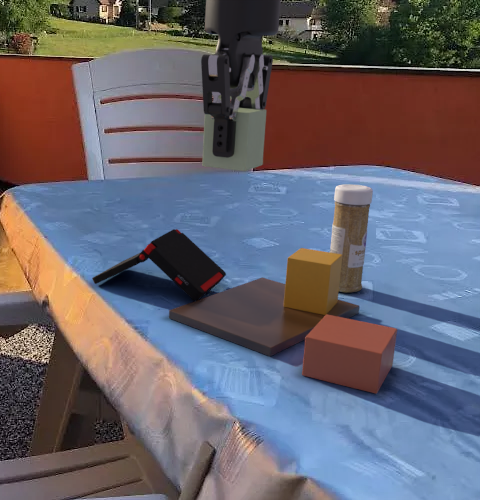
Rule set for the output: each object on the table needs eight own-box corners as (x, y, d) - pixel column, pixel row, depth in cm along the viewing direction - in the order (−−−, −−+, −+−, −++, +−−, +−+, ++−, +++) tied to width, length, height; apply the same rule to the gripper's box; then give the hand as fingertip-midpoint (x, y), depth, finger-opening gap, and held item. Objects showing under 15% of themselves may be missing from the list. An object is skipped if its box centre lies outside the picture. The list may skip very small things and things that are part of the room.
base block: (322, 349, 73) (326, 313, 72) (392, 365, 70) (397, 328, 69) (301, 375, 68) (305, 336, 67) (376, 394, 64) (381, 353, 63)
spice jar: (363, 295, 90) (375, 191, 86) (326, 292, 91) (336, 189, 87) (359, 283, 94) (371, 184, 91) (324, 280, 95) (334, 182, 91)
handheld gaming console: (228, 273, 92) (184, 322, 97) (161, 211, 95) (121, 262, 99) (201, 294, 84) (155, 347, 89) (129, 226, 86) (87, 281, 91)
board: (261, 284, 93) (262, 277, 93) (358, 313, 84) (359, 305, 84) (168, 318, 81) (168, 310, 81) (270, 356, 72) (270, 347, 71)
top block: (296, 294, 87) (301, 247, 85) (337, 302, 84) (342, 254, 83) (283, 306, 83) (287, 257, 81) (325, 315, 80) (331, 265, 78)
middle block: (220, 160, 80) (223, 106, 78) (262, 165, 78) (266, 109, 76) (201, 166, 76) (204, 109, 74) (245, 171, 73) (249, 112, 72)
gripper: (253, -22, 64) (240, 165, 69) (302, -10, 76) (288, 149, 81) (178, -20, 67) (172, 158, 72) (236, -9, 79) (227, 143, 84)
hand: (233, 152), depth 76 cm, fingers closed on middle block, 5 cm apart
